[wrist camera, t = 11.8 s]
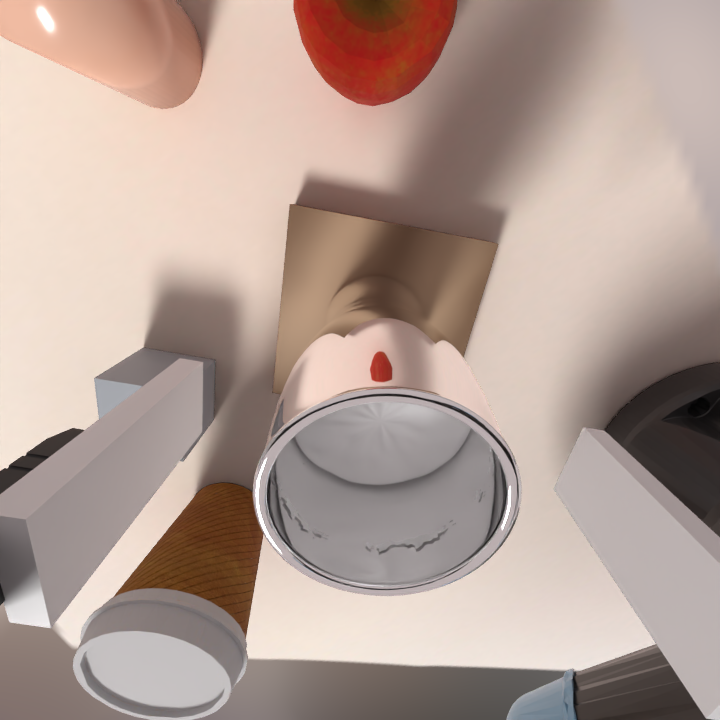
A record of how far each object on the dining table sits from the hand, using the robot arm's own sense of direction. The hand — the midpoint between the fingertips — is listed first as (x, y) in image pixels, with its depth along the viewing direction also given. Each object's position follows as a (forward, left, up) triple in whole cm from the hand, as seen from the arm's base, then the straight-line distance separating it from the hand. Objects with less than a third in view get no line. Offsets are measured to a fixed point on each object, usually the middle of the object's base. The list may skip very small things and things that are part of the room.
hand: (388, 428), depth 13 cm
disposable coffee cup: (+9, +19, -13) cm, 25 cm away
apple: (+3, -14, -13) cm, 19 cm away
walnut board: (0, 0, -13) cm, 13 cm away
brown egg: (+14, -12, -13) cm, 23 cm away
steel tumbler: (0, 0, -11) cm, 11 cm away
